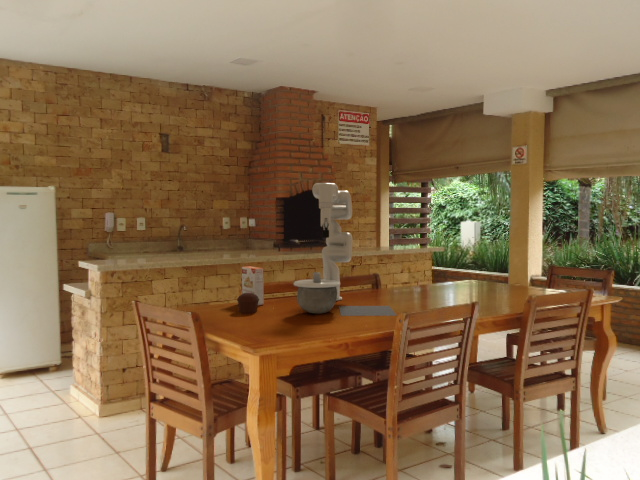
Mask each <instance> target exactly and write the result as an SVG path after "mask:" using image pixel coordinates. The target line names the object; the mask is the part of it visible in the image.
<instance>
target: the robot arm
mask: <svg viewBox="0 0 640 480" xmlns="http://www.w3.org/2000/svg"><path fill="white" fill-rule="evenodd" d="M312 195H313V197H314V199H316V200H317V199H318V209H320V227H322V237H323V238H324V239H325V238H326V239H325V243H326V246H324V247H323V248H322V250H321V256H322V266H323V274H322V275H323V276H322V277H323V278H322V279H325V280H335V281H339V282H340V283H341V281H340V279H341V278H340V276H341V275H340V273H341V272H340V268H339V266H338V265H337V264H336V263H349V262H350V261H351V260H352V256H353V245H354V241H353V235H352V233H350V232H349V231H347V232H345V231H342V226H341V225H340V223H338V221H337V220H350V219H351V218H352V217H353V204H352V202H353V201H352V196H351V193H350V192H349V190H339V186H338V184H336V183H334V182H316V183H314V184H313V185H312ZM340 286H341V285H340ZM340 286H336V288H337V299H336V302H337V301H342V300H343V297H342V296H340V293H341V292H340V289H341V288H340Z"/></svg>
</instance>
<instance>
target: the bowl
mask: <svg viewBox="0 0 640 480" xmlns="http://www.w3.org/2000/svg"><path fill="white" fill-rule="evenodd" d="M297 289H298V290H297V297H296V299H297V303H298V306H300V308H301V309H302V310H303V311H305V312H307V313H309V314H316V315H322V314H326V313H328V312H330V311H331V310H332V309H333V308H334V307H335V304H336V302H337V301H336V299H337V288H336V287H328V288H306V287H298V288H297Z"/></svg>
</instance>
